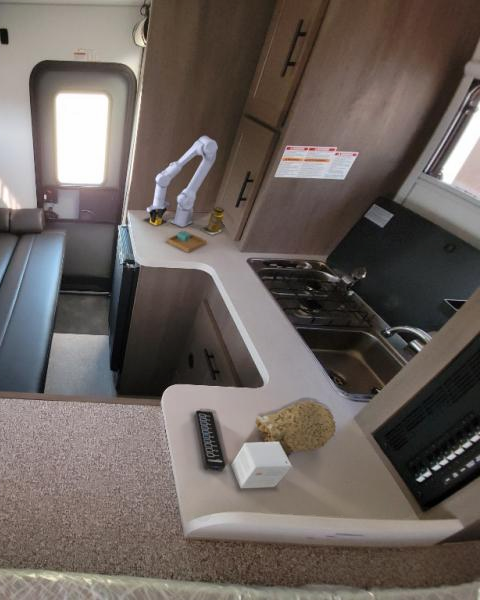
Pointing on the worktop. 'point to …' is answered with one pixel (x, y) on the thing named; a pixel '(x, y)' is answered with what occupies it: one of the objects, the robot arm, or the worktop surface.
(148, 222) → the mat
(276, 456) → the small box
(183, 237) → the packet teal
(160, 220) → the block
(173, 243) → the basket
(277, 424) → the sponge
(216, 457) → the tool bit set
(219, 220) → the condiment
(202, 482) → the worktop surface
